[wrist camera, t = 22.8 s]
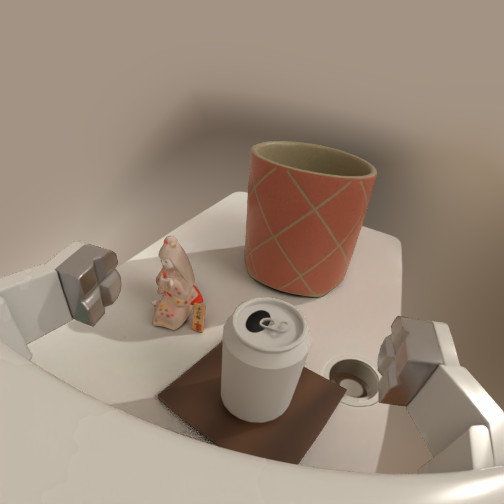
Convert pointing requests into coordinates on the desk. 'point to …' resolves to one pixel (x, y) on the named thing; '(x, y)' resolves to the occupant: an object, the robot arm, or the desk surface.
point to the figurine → (177, 289)
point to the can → (262, 358)
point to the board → (253, 433)
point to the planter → (304, 215)
